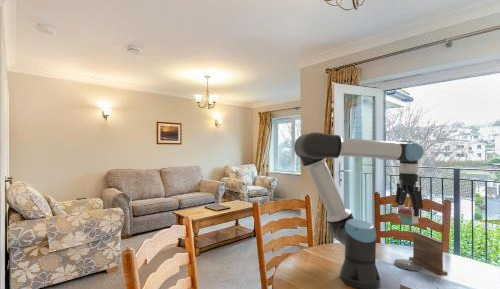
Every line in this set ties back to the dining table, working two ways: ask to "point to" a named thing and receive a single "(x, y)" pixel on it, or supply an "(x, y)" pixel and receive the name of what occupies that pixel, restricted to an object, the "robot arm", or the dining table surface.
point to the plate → (408, 264)
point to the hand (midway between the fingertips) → (408, 220)
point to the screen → (428, 253)
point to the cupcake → (406, 215)
